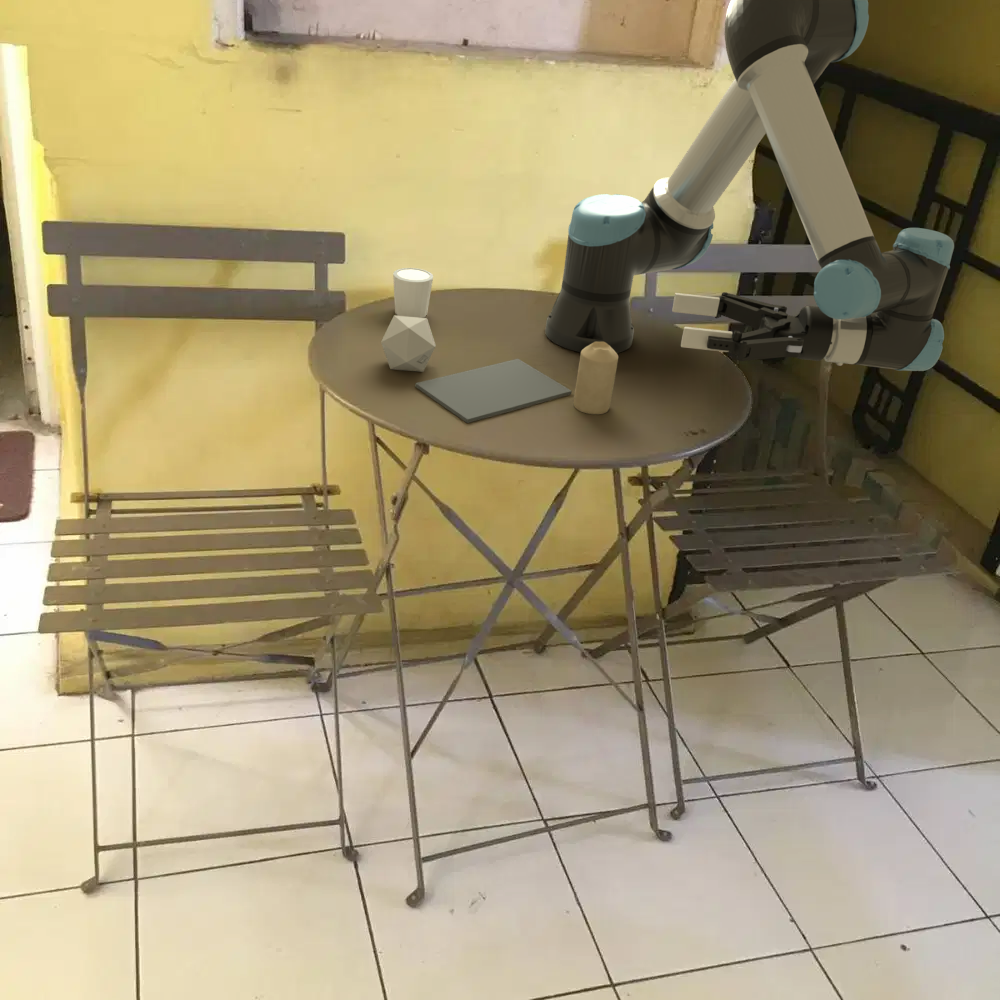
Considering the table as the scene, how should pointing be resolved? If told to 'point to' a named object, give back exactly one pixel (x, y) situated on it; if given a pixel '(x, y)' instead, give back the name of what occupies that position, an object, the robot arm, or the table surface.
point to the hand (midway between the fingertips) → (677, 318)
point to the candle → (595, 378)
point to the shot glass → (412, 292)
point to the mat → (492, 390)
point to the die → (408, 343)
